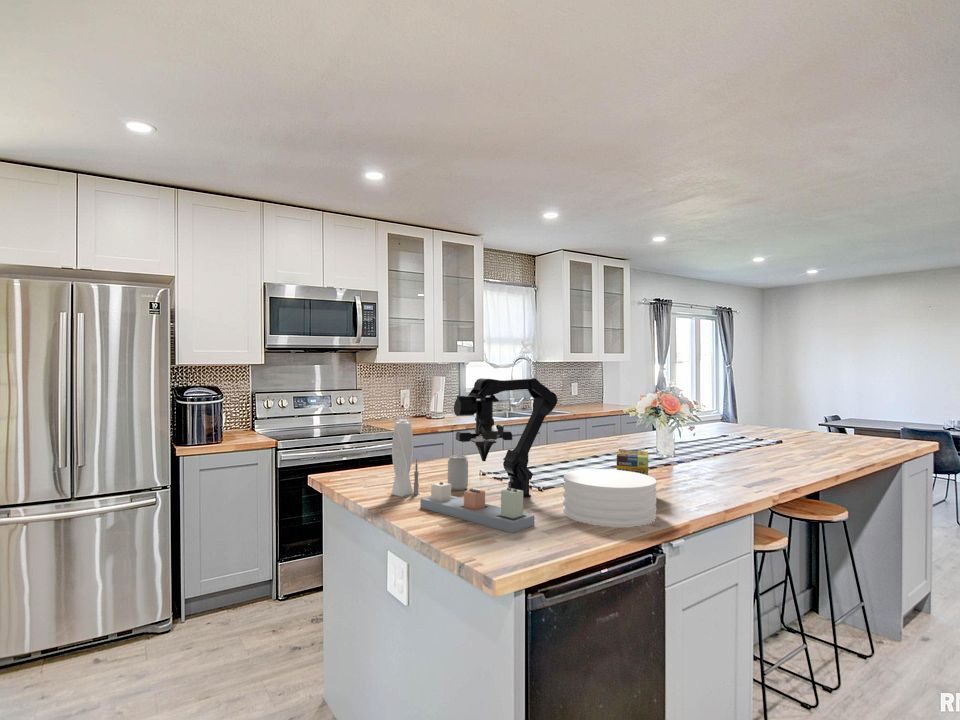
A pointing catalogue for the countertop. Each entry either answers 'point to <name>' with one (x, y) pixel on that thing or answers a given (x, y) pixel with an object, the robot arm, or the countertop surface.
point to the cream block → (441, 491)
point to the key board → (478, 514)
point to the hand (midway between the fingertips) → (483, 461)
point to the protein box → (632, 461)
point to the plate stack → (609, 497)
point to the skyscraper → (403, 459)
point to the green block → (511, 503)
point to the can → (458, 472)
